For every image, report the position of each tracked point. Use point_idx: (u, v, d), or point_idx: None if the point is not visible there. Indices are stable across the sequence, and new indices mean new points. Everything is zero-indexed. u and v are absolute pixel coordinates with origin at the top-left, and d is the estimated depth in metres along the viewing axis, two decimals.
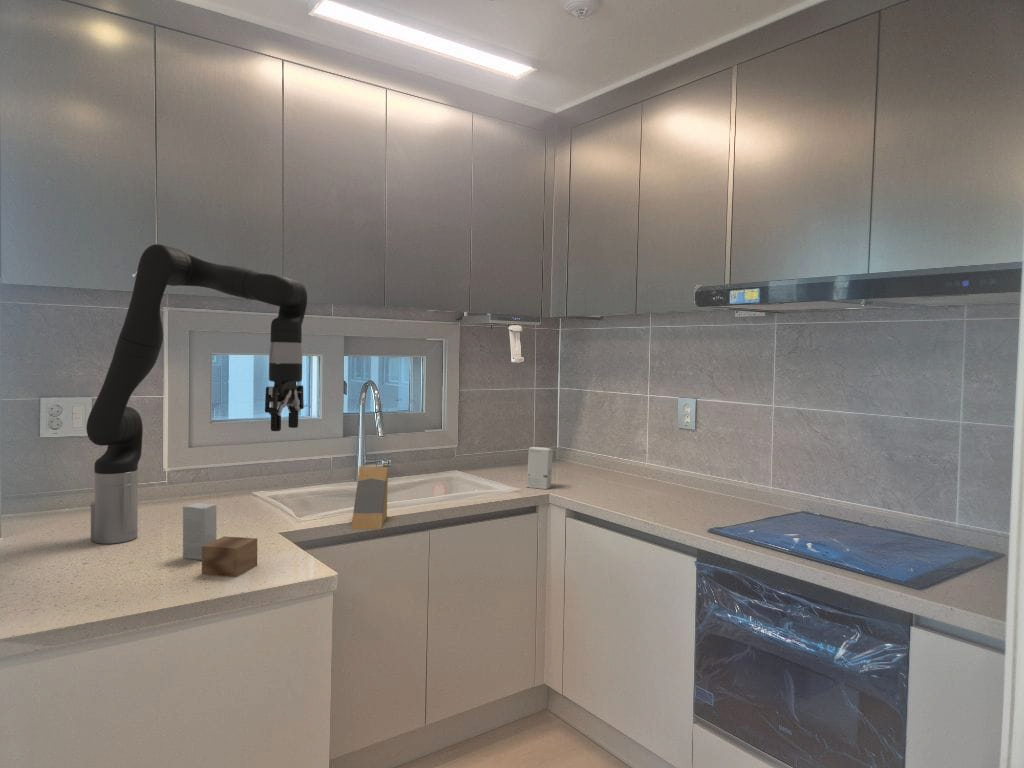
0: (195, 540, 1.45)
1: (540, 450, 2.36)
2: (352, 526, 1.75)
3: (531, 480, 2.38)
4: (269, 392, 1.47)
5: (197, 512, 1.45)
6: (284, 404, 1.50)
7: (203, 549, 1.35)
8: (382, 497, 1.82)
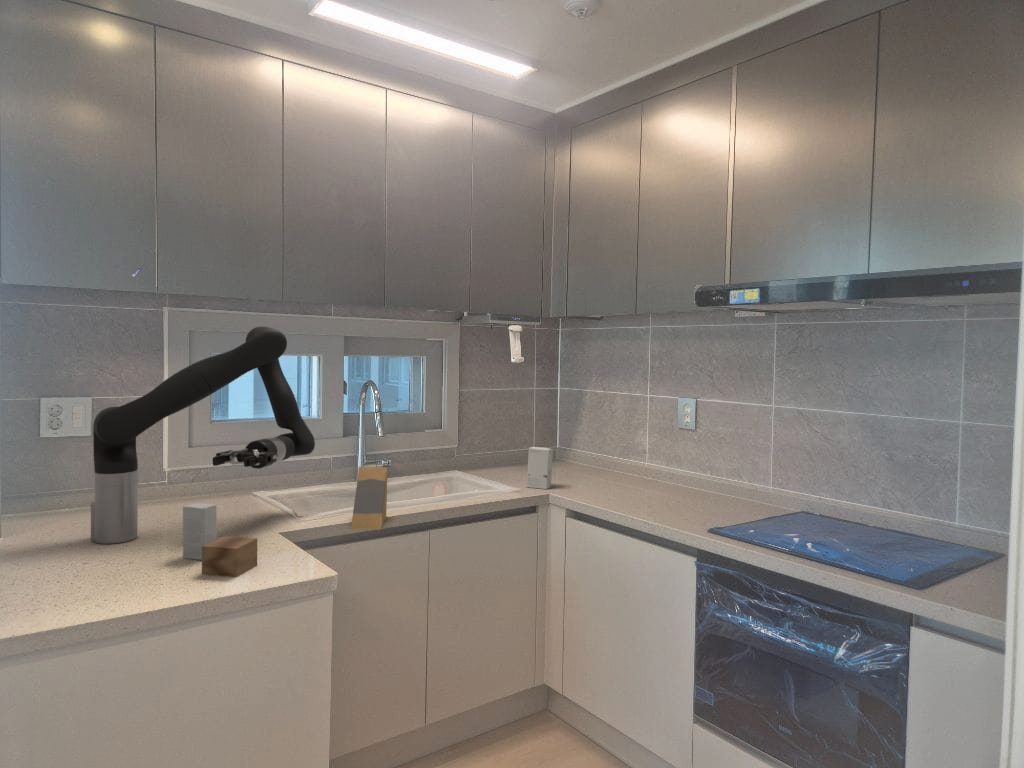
0: (195, 540, 1.45)
1: (540, 450, 2.36)
2: (352, 526, 1.75)
3: (531, 479, 2.38)
4: (274, 456, 1.66)
5: (197, 512, 1.45)
6: None
7: (203, 549, 1.35)
8: (382, 497, 1.82)
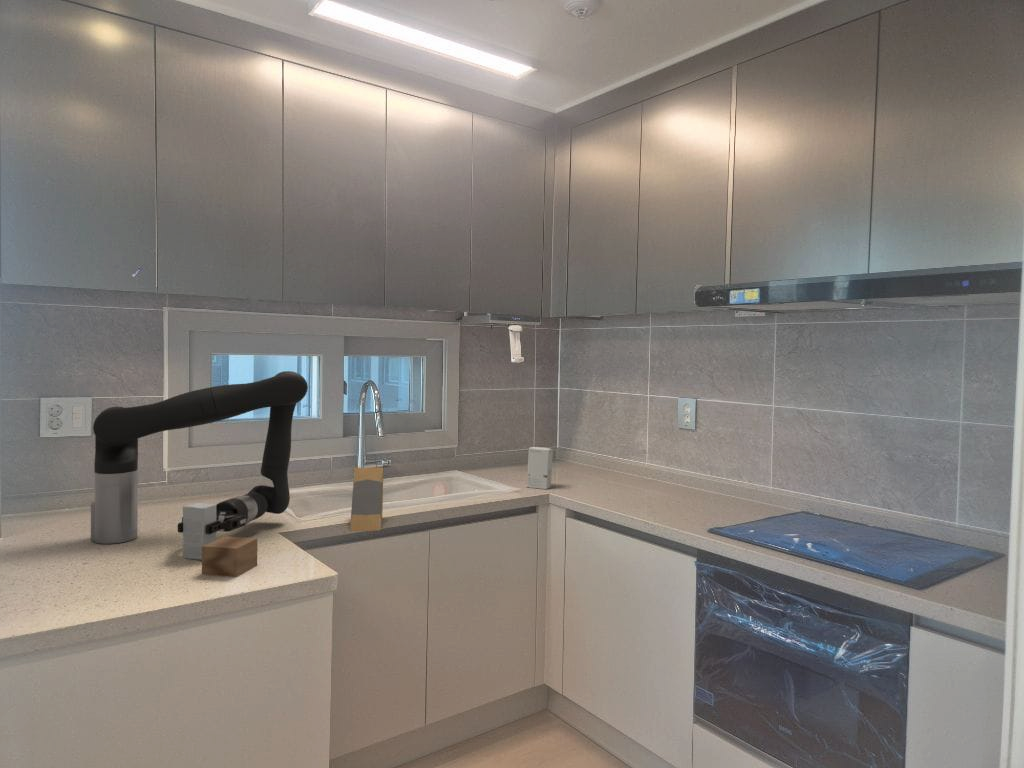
0: (195, 540, 1.45)
1: (540, 450, 2.36)
2: (351, 528, 1.73)
3: (531, 480, 2.38)
4: (243, 520, 1.53)
5: (197, 512, 1.45)
6: None
7: (203, 549, 1.35)
8: (379, 498, 1.81)
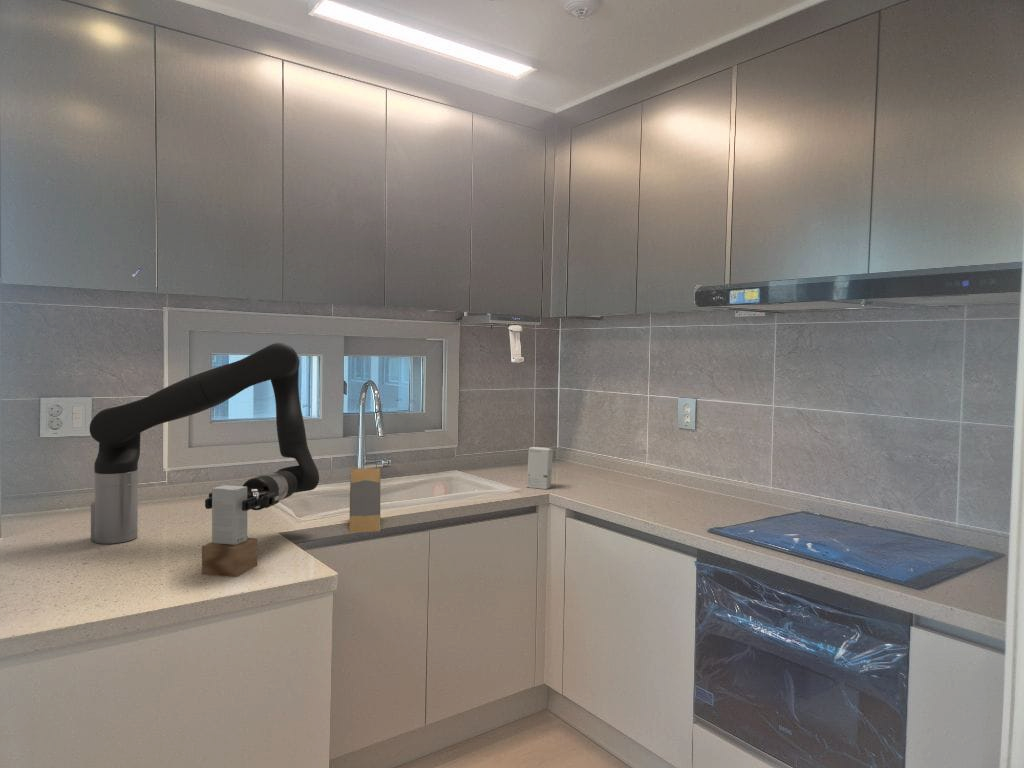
0: (225, 523, 1.37)
1: (540, 450, 2.36)
2: (350, 529, 1.72)
3: (531, 480, 2.38)
4: (277, 497, 1.45)
5: (228, 494, 1.36)
6: None
7: (203, 549, 1.35)
8: (378, 499, 1.80)
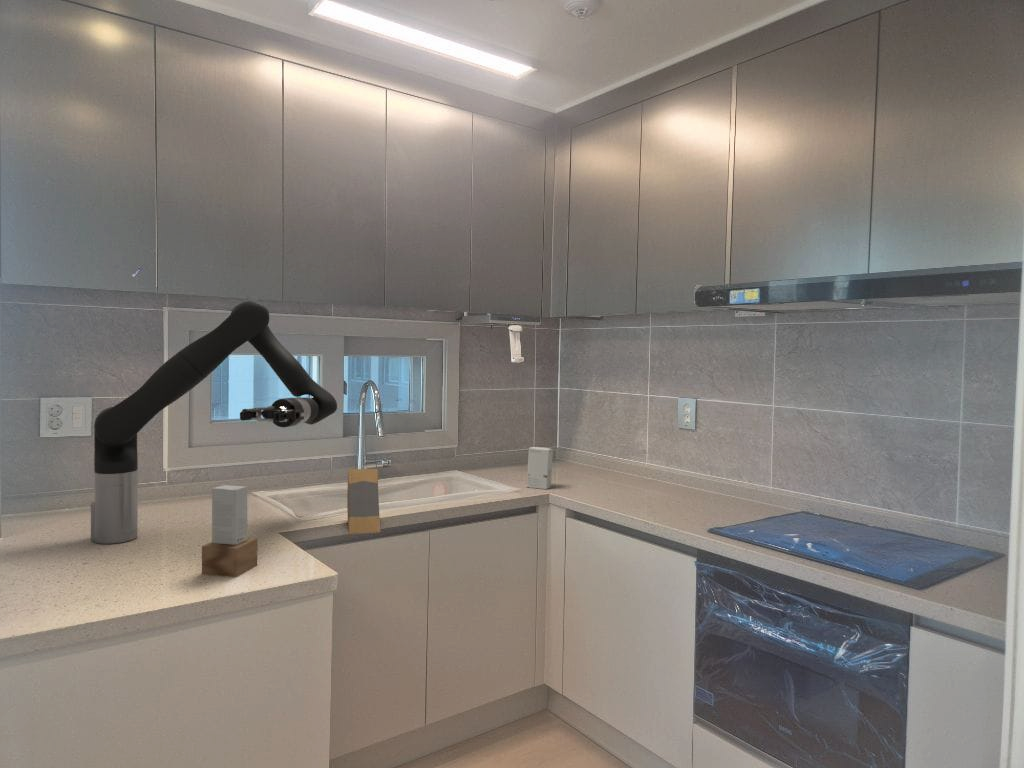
0: (225, 523, 1.37)
1: (540, 450, 2.36)
2: (350, 530, 1.71)
3: (531, 479, 2.38)
4: (302, 413, 1.62)
5: (228, 494, 1.36)
6: (284, 421, 1.60)
7: (203, 549, 1.35)
8: (376, 499, 1.79)
